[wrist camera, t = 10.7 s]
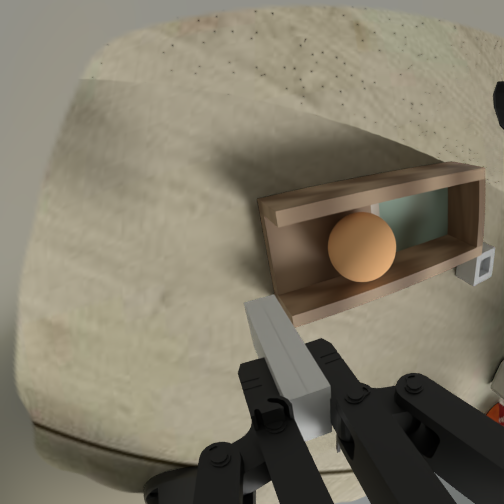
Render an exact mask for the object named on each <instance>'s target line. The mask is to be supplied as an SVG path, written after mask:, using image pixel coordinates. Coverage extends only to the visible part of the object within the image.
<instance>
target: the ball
mask: <svg viewBox="0 0 504 504" xmlns="http://www.w3.org/2000/svg"><path fill="white" fill-rule="evenodd" d="M328 254H329V257H330V260H331V263H332V264H333V266H334V268H335V269H336V270H337V271H338V272H339V273H340V274H341V275H342V276H344V277H345V278H347V279H349V280H352V281H356V282H368V281H372V280H375V279H377V278H379V277H381V276H382V275H383V274H384V273H385V272H386V271H387V270H388V269H389V268H390V266H391V265H392V263H393V261H394V258H395V254H396V241H395V237H394V234H393V232H392V230H391V228H390V226H389V225H388V224H387V223H386V222H385V221H384V220H383V219H382V218H380V217H379V216H377V215H375V214H372V213H368V212H356V213H352V214H349V215H347V216H345V217H344V218H342V219H341V220H340V221H339V222H338V223H337V224H336V225H335V226H334V228H333V229H332V231H331V233H330V236H329V241H328Z"/></svg>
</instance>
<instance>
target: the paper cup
mask: <svg viewBox="0 0 504 504" xmlns="http://www.w3.org/2000/svg"><path fill="white" fill-rule="evenodd" d="M486 416H488V417H490V418H491V419H493V420H494V421H496V422H497V423H499V424H500V425H502V426H504V406H503V405H501V404H500V403H497V404H496V405H494V406H493V407H492V408H491V410H490V411H489V412H488V413H487V415H486Z"/></svg>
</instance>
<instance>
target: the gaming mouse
mask: <svg viewBox="0 0 504 504" xmlns="http://www.w3.org/2000/svg"><path fill="white" fill-rule="evenodd" d="M493 102H494V109H495V112H496V115H497V118H498V121H499V125H500V126H501V127H502V128H503V129H504V81H500V82H497V85H496V87H495V90H494V93H493Z"/></svg>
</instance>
